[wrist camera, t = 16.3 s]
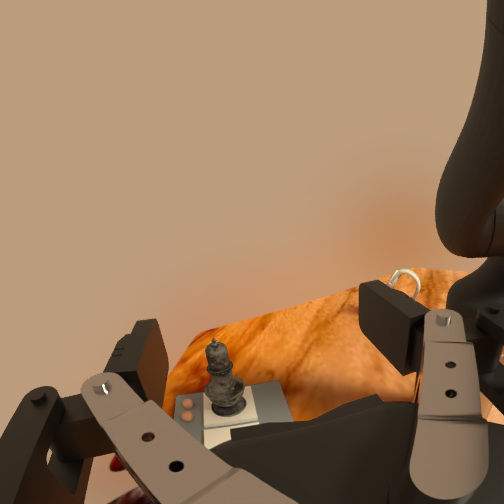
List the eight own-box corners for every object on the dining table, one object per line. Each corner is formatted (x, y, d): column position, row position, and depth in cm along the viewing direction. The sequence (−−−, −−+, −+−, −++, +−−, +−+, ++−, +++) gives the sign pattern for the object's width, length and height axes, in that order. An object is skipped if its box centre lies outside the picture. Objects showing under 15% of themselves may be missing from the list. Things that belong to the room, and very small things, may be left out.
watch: (388, 309, 67) (389, 264, 64) (420, 314, 62) (423, 268, 59) (380, 319, 63) (381, 272, 61) (414, 325, 58) (418, 276, 55)
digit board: (279, 385, 48) (278, 375, 48) (308, 466, 31) (308, 457, 30) (178, 400, 46) (174, 390, 46) (171, 485, 29) (166, 476, 29)
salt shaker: (204, 400, 44) (186, 334, 41) (240, 388, 46) (227, 323, 43) (216, 423, 38) (197, 355, 35) (254, 410, 41) (242, 341, 38)
